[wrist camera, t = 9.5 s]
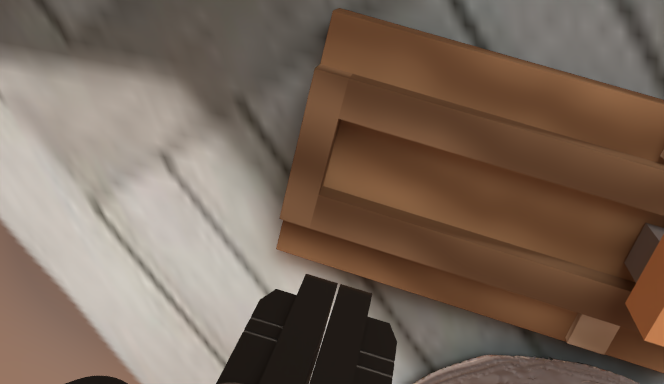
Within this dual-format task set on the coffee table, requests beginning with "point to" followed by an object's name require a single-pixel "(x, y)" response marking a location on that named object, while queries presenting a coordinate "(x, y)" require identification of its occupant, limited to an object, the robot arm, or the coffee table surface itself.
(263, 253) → the coffee table surface
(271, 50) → the coffee table surface
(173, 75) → the coffee table surface
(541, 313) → the console
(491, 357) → the food plate
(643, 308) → the fader
